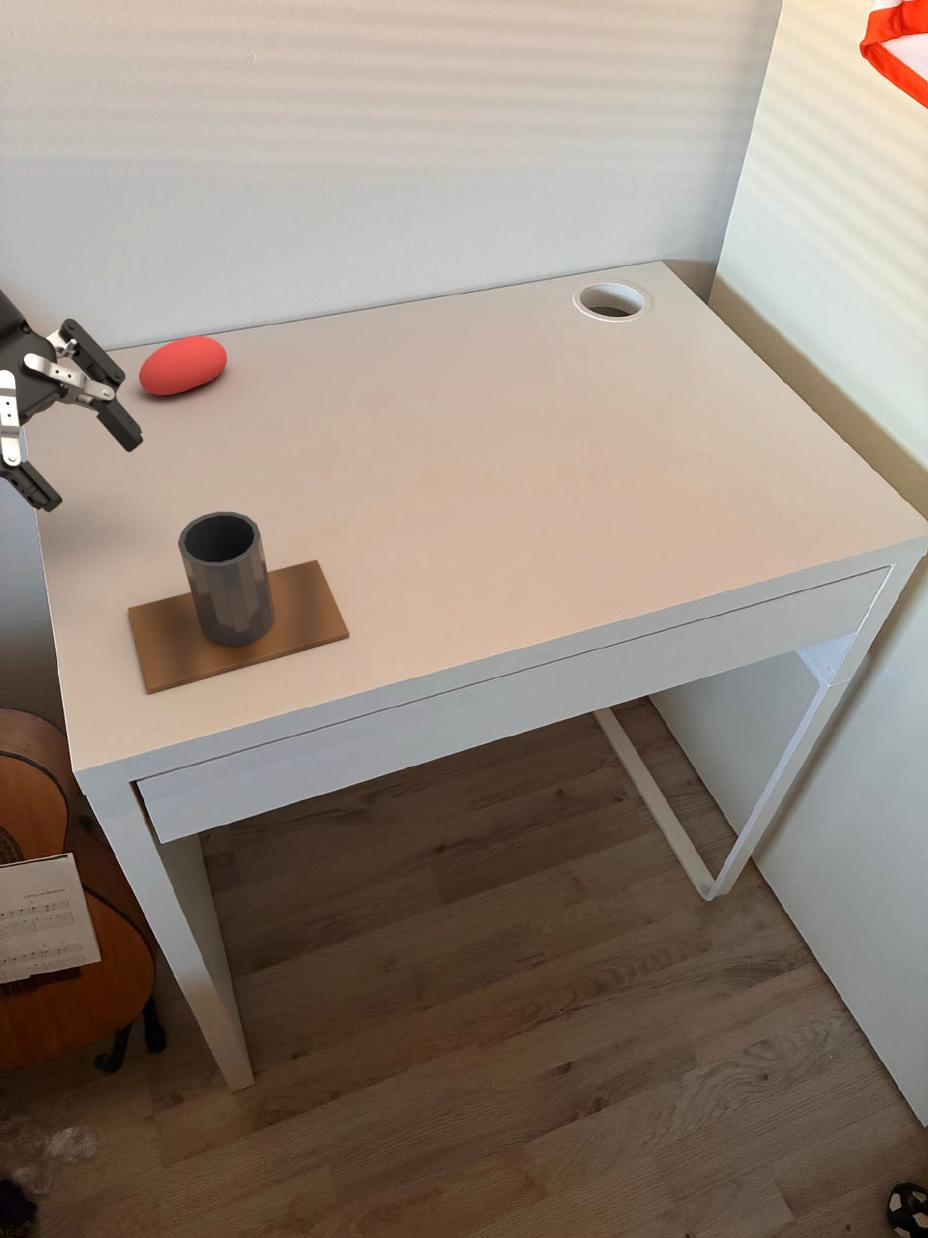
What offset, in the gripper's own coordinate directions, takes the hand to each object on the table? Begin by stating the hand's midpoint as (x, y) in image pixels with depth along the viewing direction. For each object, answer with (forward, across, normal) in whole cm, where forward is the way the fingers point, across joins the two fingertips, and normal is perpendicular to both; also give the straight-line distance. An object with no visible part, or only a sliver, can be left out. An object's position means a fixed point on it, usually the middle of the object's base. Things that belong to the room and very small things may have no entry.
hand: (98, 475), depth 73 cm
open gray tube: (+15, 0, -1) cm, 15 cm away
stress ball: (-2, +24, +18) cm, 30 cm away
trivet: (+16, 0, -1) cm, 16 cm away
